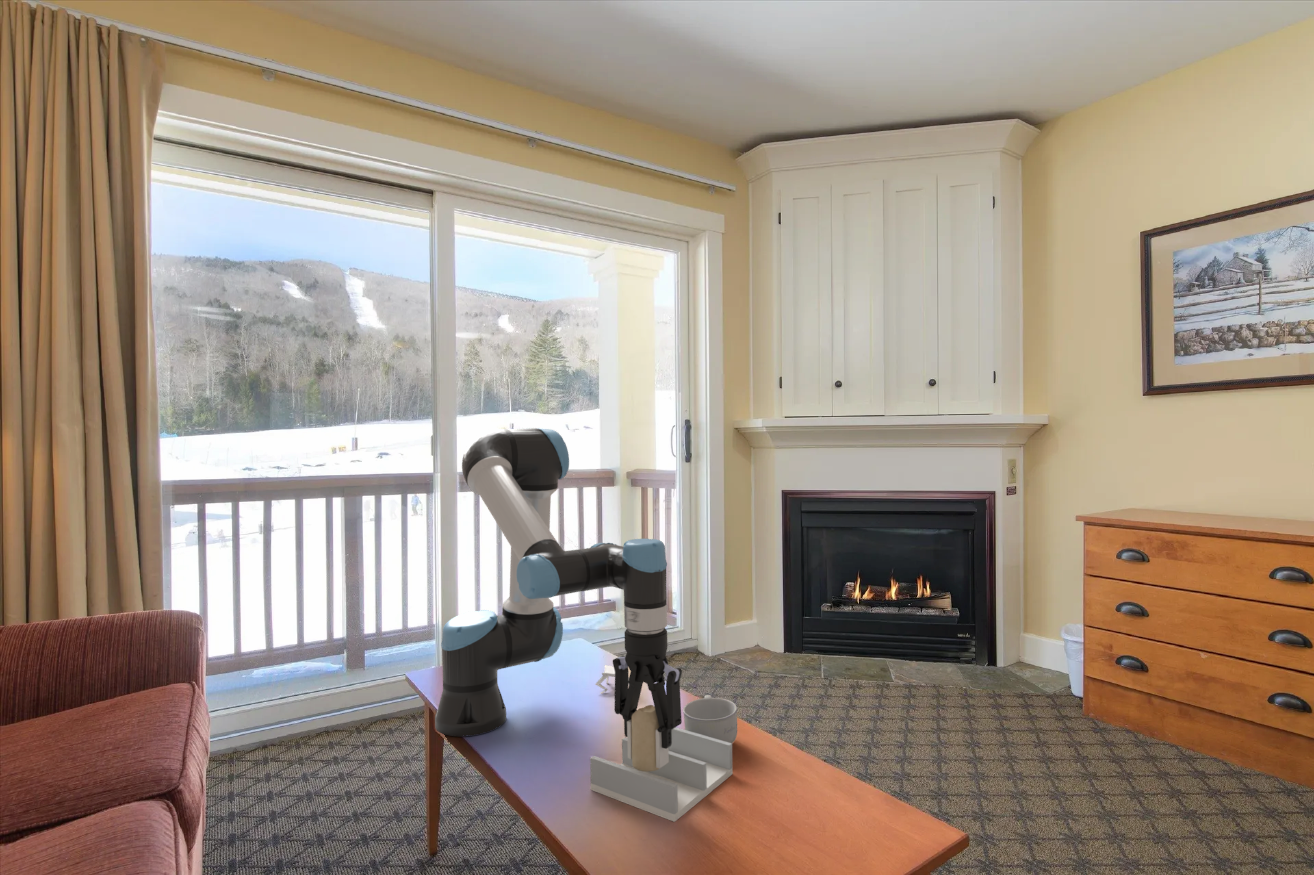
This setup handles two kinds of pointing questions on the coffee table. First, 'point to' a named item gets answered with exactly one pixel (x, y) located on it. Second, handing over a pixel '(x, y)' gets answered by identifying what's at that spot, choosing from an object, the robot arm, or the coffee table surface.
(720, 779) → the slot rack
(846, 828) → the coffee table surface
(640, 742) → the candle
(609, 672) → the origami figure
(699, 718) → the teacup
